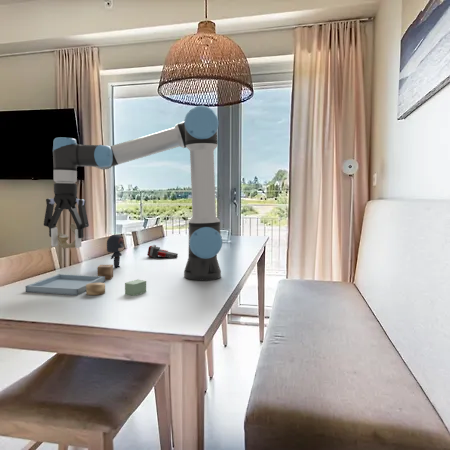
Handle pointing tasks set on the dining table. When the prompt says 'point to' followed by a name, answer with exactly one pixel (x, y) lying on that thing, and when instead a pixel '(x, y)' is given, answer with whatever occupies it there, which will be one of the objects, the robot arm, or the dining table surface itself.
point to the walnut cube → (105, 271)
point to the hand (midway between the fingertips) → (66, 246)
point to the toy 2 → (160, 252)
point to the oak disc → (95, 288)
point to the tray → (64, 284)
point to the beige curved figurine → (66, 238)
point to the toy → (115, 248)
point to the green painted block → (135, 287)
